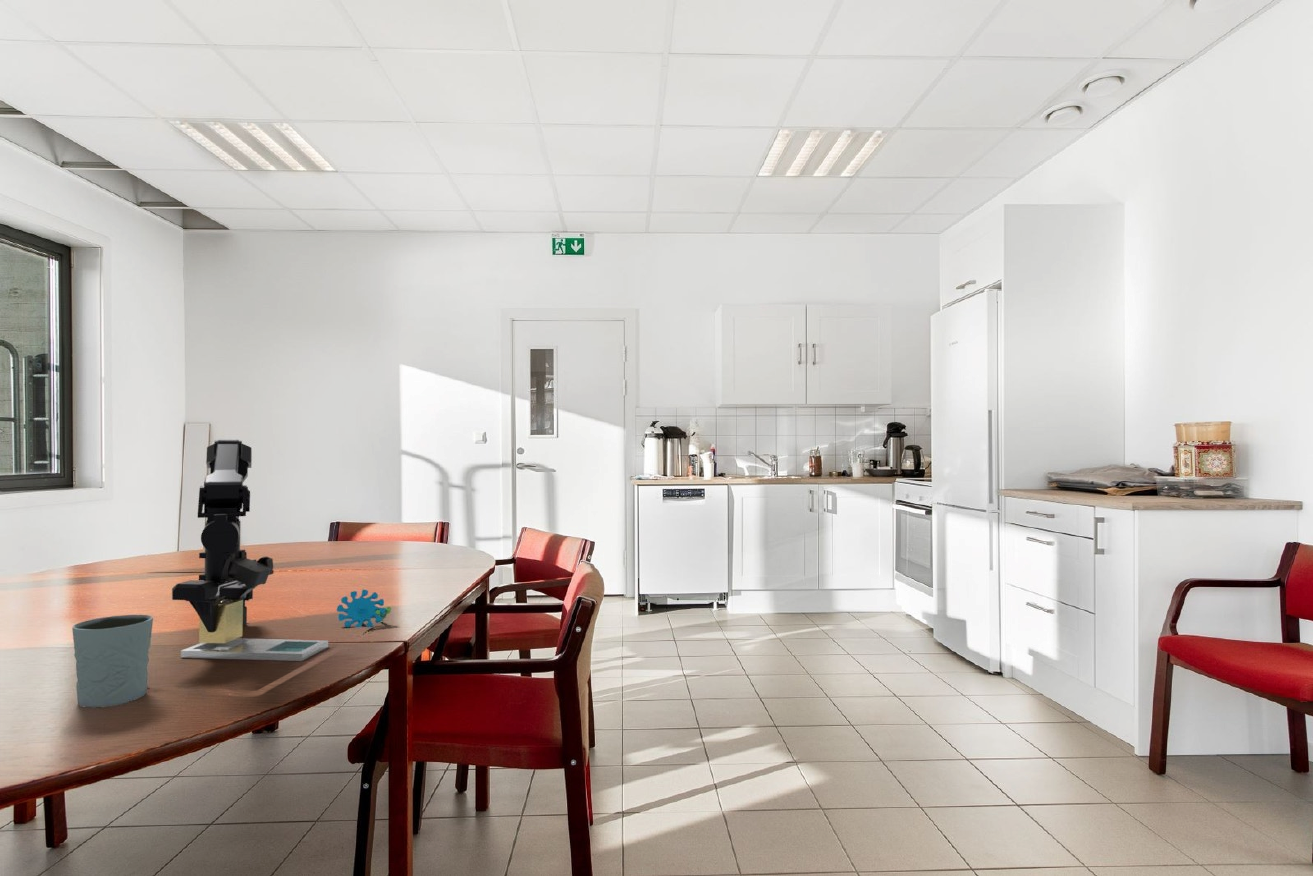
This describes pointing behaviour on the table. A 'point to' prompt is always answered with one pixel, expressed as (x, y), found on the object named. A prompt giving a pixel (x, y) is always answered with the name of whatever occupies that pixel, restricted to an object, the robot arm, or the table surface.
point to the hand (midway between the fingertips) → (221, 628)
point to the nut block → (224, 623)
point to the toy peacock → (362, 609)
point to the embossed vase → (112, 659)
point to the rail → (257, 649)
